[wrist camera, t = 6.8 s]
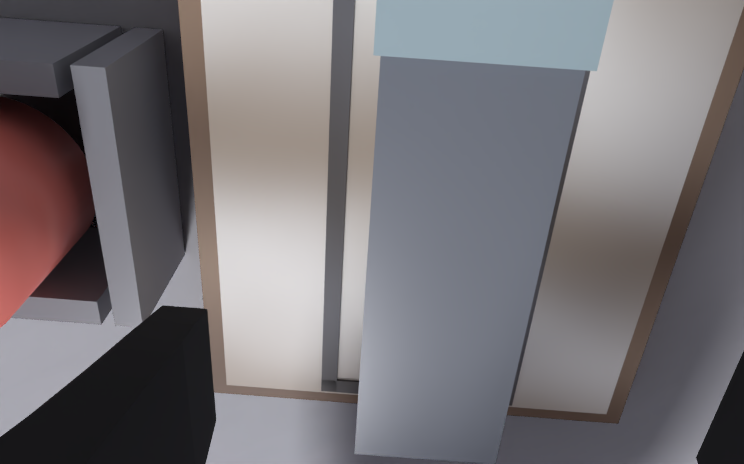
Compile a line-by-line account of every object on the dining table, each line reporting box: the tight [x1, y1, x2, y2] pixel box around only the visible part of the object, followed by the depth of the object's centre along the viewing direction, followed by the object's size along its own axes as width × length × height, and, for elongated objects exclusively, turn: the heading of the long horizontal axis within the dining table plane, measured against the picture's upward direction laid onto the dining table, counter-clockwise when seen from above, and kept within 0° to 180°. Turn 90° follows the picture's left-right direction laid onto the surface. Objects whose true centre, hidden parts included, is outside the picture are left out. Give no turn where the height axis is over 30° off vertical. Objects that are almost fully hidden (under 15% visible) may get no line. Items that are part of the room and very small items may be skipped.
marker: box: [354, 0, 614, 464], centre depth 12 cm, size 12×3×3 cm, turn 177°
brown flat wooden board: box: [178, 0, 744, 424], centre depth 14 cm, size 13×11×1 cm
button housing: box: [0, 18, 185, 327], centre depth 14 cm, size 6×6×3 cm
